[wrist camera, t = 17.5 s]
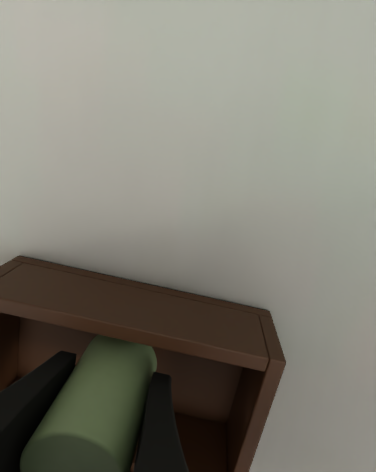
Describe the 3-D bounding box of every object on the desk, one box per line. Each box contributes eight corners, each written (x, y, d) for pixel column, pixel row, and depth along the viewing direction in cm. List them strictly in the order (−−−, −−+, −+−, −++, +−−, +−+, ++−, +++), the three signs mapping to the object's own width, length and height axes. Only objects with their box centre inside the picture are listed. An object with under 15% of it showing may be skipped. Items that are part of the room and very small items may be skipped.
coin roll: (135, 400, 14) (95, 532, 9) (75, 366, 14) (1, 484, 9) (170, 351, 13) (145, 469, 9) (107, 314, 13) (44, 415, 8)
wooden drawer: (18, 255, 15) (-42, 289, 11) (269, 310, 15) (287, 362, 11) (12, 374, 17) (-41, 434, 13) (234, 425, 17) (239, 500, 13)
